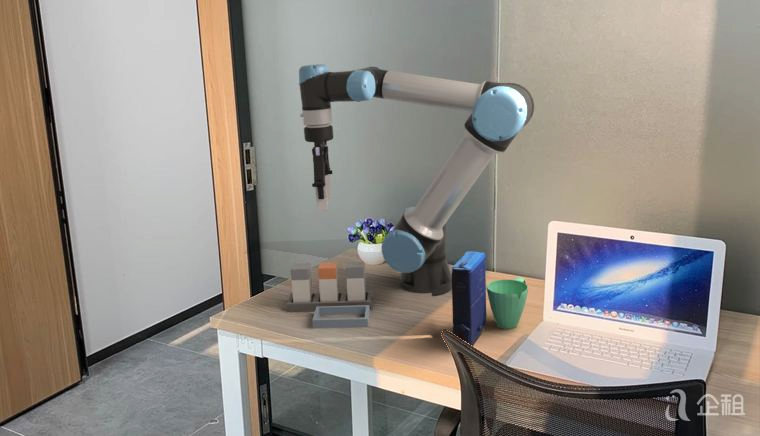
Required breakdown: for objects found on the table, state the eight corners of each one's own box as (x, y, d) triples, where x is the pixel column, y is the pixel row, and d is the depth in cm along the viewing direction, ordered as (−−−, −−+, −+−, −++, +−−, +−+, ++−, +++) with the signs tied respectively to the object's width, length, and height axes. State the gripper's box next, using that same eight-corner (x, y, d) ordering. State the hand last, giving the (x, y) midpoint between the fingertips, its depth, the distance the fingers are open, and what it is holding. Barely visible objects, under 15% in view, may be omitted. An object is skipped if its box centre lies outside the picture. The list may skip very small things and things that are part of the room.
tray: (369, 316, 176) (369, 305, 175) (368, 330, 168) (367, 318, 167) (317, 317, 177) (316, 306, 176) (313, 331, 168) (312, 320, 167)
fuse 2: (366, 300, 184) (364, 261, 181) (365, 306, 180) (363, 267, 177) (349, 300, 184) (347, 262, 181) (348, 307, 180) (345, 267, 177)
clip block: (373, 300, 186) (373, 289, 185) (372, 313, 178) (371, 302, 177) (291, 302, 187) (290, 292, 186) (285, 315, 179) (284, 305, 178)
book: (472, 353, 154) (471, 269, 148) (449, 349, 156) (447, 267, 151) (488, 327, 166) (488, 249, 161) (467, 324, 169) (466, 247, 163)
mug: (518, 336, 161) (519, 296, 158) (480, 328, 166) (480, 290, 163) (539, 313, 173) (540, 276, 170) (503, 307, 178) (503, 270, 175)
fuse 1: (312, 301, 184) (310, 263, 182) (310, 308, 180) (307, 268, 177) (296, 302, 185) (293, 263, 182) (293, 308, 180) (290, 269, 177)
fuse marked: (339, 300, 184) (337, 262, 181) (338, 307, 180) (335, 268, 177) (322, 301, 184) (320, 262, 181) (321, 307, 180) (318, 268, 177)
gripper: (308, 120, 190) (315, 194, 196) (297, 133, 166) (306, 217, 172) (335, 118, 190) (341, 192, 196) (328, 131, 166) (335, 215, 172)
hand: (325, 204), depth 184 cm, fingers open, 13 cm apart
